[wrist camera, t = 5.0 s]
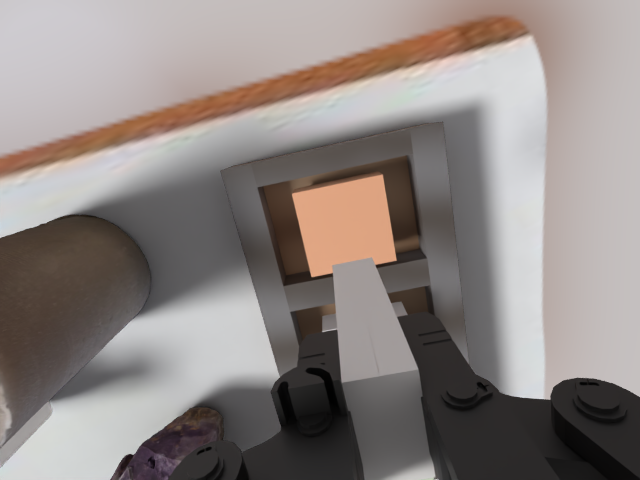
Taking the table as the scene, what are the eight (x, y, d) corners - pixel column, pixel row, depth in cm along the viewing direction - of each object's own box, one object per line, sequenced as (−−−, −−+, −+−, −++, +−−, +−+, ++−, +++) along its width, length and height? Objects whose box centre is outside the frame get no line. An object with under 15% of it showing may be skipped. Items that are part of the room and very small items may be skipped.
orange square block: (390, 250, 25) (396, 260, 23) (312, 266, 25) (311, 277, 23) (377, 171, 23) (382, 174, 21) (294, 188, 24) (291, 193, 22)
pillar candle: (25, 204, 27) (-322, 286, 12) (156, 225, 27) (-33, 328, 13) (34, 318, 29) (-242, 494, 15) (152, 336, 30) (-7, 523, 15)
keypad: (464, 437, 33) (481, 472, 29) (315, 461, 33) (314, 497, 30) (426, 123, 25) (442, 121, 21) (233, 166, 26) (220, 170, 22)
